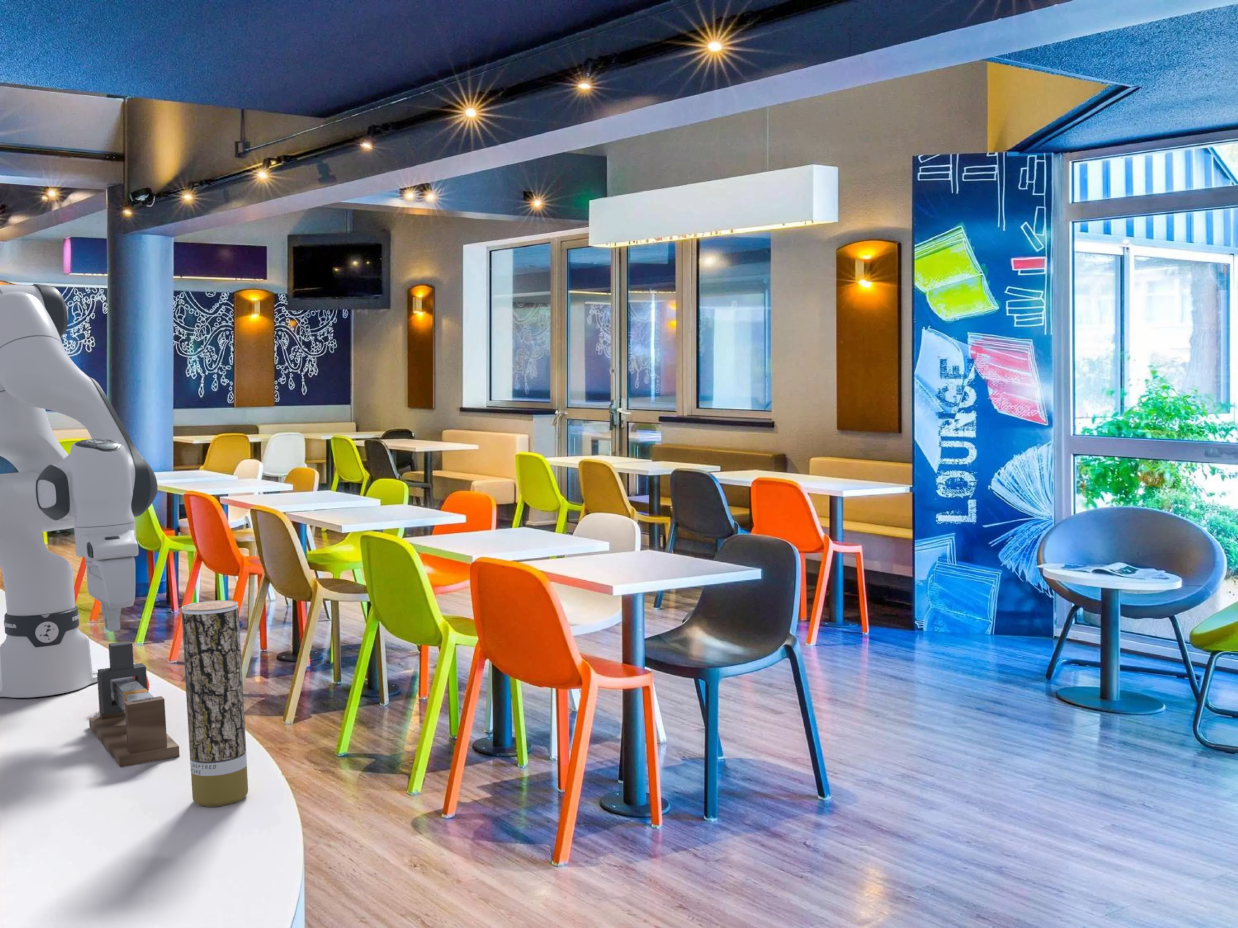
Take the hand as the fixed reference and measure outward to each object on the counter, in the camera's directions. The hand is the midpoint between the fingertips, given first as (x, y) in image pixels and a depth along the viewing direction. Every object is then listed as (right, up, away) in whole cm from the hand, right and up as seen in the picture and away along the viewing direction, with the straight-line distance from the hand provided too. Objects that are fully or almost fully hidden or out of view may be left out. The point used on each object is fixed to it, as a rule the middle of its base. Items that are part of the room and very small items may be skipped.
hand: (112, 629), depth 189 cm
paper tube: (+29, -17, -36) cm, 49 cm away
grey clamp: (+4, -12, -5) cm, 13 cm away
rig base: (+7, -16, -9) cm, 19 cm away
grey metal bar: (+6, -10, -9) cm, 15 cm away
